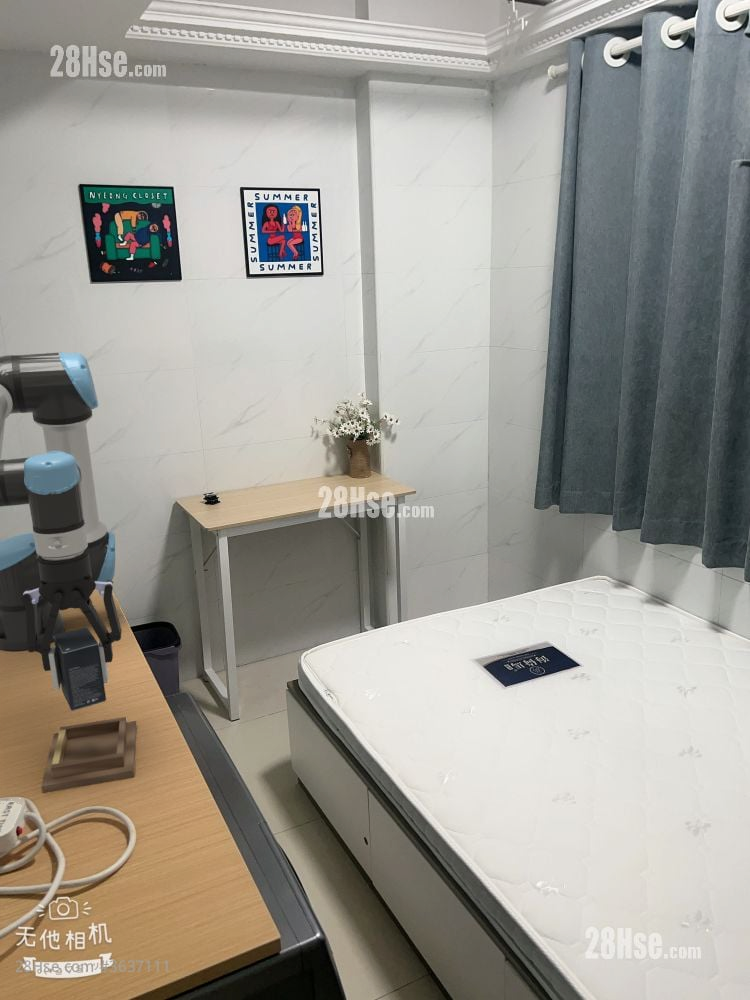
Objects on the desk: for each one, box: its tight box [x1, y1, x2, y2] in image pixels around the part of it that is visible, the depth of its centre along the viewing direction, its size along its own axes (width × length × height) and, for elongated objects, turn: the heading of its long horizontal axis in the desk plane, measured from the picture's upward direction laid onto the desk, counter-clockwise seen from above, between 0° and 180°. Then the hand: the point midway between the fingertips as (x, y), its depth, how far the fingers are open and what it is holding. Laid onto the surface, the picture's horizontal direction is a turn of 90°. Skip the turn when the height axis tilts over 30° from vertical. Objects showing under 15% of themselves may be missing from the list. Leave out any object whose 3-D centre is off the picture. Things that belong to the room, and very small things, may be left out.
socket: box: [41, 716, 138, 794], centre depth 128 cm, size 15×14×3 cm
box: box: [53, 626, 107, 712], centre depth 123 cm, size 8×6×11 cm
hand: (81, 682), depth 124 cm, fingers closed on box, 7 cm apart
